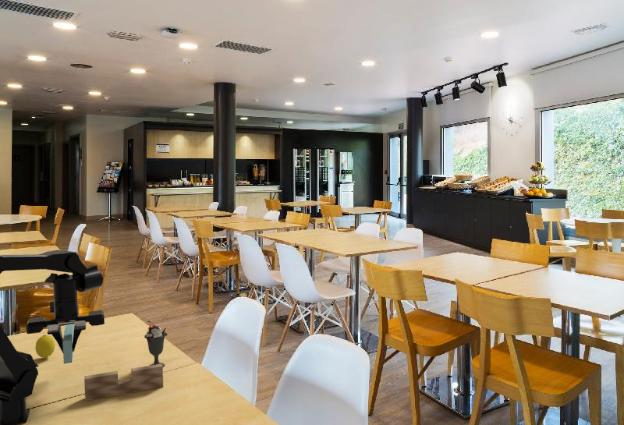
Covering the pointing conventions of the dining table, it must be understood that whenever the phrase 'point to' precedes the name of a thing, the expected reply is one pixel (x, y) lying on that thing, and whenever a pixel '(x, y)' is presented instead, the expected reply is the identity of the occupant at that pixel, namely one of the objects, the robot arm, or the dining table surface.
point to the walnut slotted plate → (123, 382)
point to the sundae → (155, 342)
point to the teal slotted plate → (68, 343)
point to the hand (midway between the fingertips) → (68, 351)
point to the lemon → (45, 346)
